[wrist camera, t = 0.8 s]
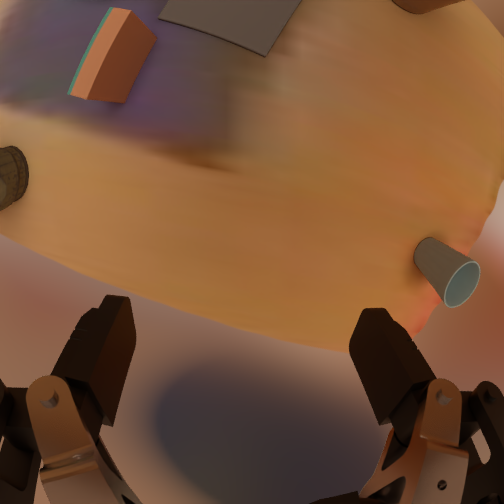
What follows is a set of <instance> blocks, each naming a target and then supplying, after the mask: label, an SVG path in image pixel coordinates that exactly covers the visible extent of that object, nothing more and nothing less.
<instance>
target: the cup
mask: <svg viewBox="0 0 504 504" xmlns="http://www.w3.org/2000/svg"><path fill="white" fill-rule="evenodd" d="M414 262H415V264H416V265H417V267H418V268H419V269H420V271H421V272H422V273H423V274H424V276H425V277H426V278H427V280H428V281H429V282H430V284H431V285H432V286H433V288H434V289H435V290H436V292H437V293H438V294H439V296H440V298H441V299H442V300H443V302H444V303H445V305H446V306H447V307H450V308H454V307H457V306H459V305H461V304H462V303H464V302H465V301H466V300H467V299H468V298H469V297H470V296H471V294H472V293H473V292H474V290H475V288H476V286H477V284H478V281H479V278H480V266H479V264H478V263H477V262H476V261H474V260H472V259H471V258H469V257H467V256H465V255H463V254H461V253H460V252H458V251H456V250H454V249H453V248H451V247H449V246H447V245H445V244H443V243H442V242H440V241H438V240H436V239H434V238H426V239H424V240H423V241H422V242H421V243H420V244H419V245H418V246H417V248H416V250H415V253H414Z"/></svg>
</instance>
